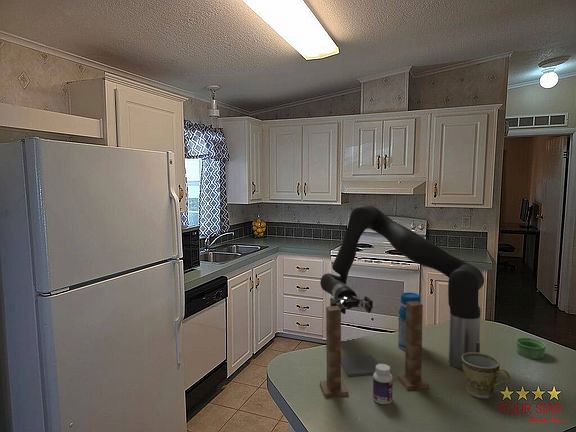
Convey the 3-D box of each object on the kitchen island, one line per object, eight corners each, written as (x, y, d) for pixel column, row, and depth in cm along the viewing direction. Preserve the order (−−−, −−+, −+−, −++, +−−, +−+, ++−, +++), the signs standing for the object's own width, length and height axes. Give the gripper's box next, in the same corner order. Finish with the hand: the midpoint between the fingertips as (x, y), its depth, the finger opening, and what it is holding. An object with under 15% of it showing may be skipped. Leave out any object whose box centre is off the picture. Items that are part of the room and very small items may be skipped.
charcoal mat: (371, 356, 137) (371, 354, 137) (384, 373, 125) (384, 371, 125) (338, 359, 136) (338, 357, 136) (348, 376, 124) (348, 374, 124)
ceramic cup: (454, 391, 115) (454, 358, 114) (471, 380, 121) (472, 349, 120) (499, 411, 104) (501, 376, 103) (516, 398, 110) (517, 364, 109)
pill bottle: (392, 406, 108) (393, 372, 107) (373, 404, 109) (373, 370, 108) (391, 395, 113) (392, 363, 112) (372, 393, 114) (372, 361, 113)
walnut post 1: (342, 383, 120) (341, 303, 117) (348, 395, 113) (348, 311, 111) (319, 385, 119) (319, 305, 117) (325, 397, 112) (324, 313, 110)
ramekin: (539, 363, 131) (540, 350, 131) (511, 353, 138) (511, 342, 137) (549, 355, 137) (550, 343, 136) (521, 346, 144) (521, 335, 143)
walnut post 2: (418, 376, 123) (420, 299, 121) (429, 388, 116) (431, 306, 114) (397, 378, 122) (398, 300, 120) (407, 390, 115) (408, 307, 113)
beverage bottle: (398, 351, 141) (399, 297, 139) (397, 341, 149) (397, 290, 147) (423, 353, 139) (424, 299, 137) (420, 343, 147) (421, 292, 145)
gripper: (325, 286, 143) (336, 300, 127) (362, 285, 145) (378, 298, 129) (325, 306, 144) (336, 322, 128) (362, 304, 146) (377, 320, 130)
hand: (357, 310), depth 129 cm, fingers open, 8 cm apart
